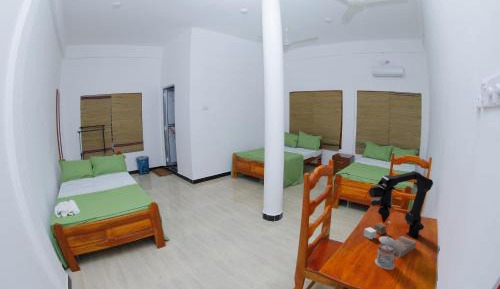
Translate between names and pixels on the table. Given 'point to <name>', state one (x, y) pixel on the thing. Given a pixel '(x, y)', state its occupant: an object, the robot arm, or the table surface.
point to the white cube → (370, 233)
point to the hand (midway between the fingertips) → (384, 219)
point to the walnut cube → (380, 228)
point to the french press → (386, 246)
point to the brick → (403, 246)
